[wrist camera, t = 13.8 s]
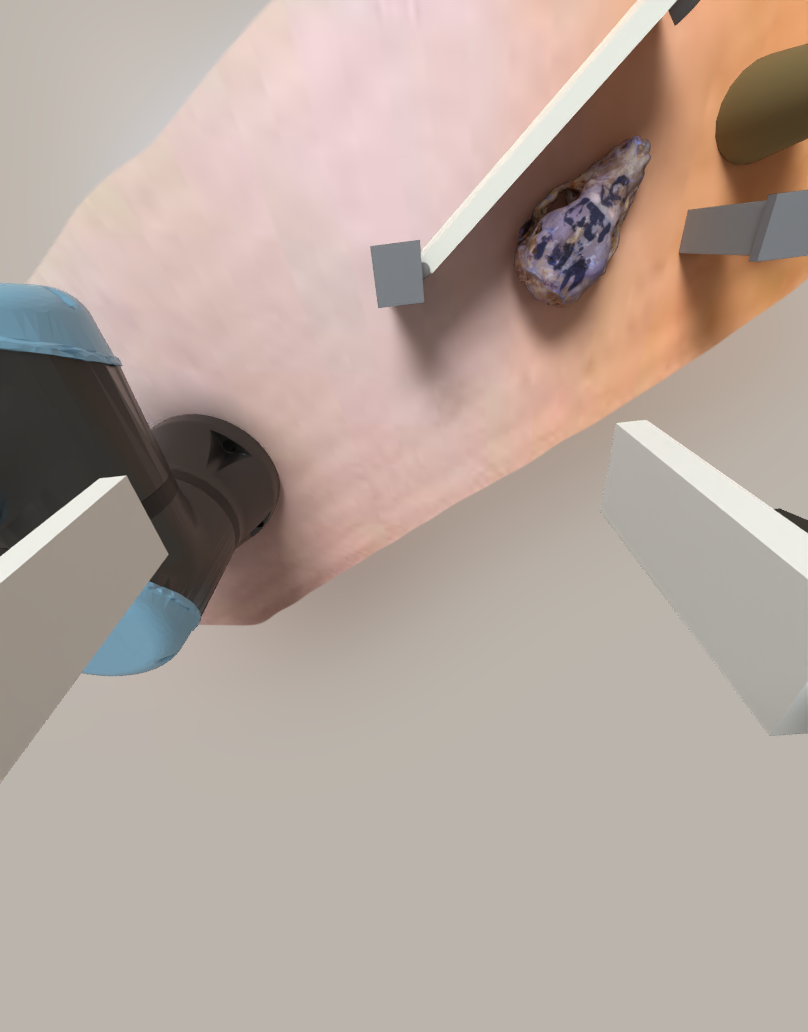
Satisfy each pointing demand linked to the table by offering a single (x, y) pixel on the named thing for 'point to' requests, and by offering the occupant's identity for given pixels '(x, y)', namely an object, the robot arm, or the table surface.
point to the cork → (765, 107)
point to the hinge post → (398, 273)
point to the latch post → (751, 228)
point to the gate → (551, 122)
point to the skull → (580, 226)
